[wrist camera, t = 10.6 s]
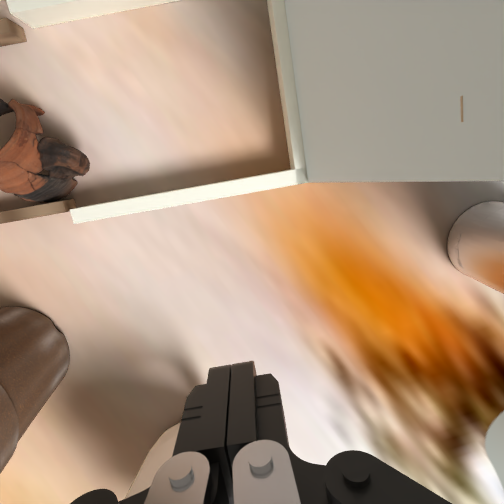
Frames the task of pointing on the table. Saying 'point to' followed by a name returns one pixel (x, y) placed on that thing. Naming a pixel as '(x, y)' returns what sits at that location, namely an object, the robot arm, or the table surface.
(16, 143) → the pottery mug
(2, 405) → the plant pot
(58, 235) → the table surface
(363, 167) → the cold frame
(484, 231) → the robot arm
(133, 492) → the watering can
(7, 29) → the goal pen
